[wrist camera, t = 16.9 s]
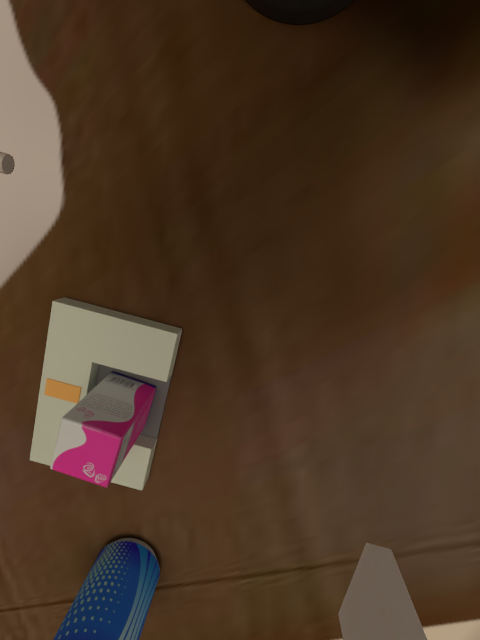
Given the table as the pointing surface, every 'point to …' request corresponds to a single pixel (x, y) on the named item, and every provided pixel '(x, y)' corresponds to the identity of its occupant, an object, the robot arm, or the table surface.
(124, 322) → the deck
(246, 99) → the table surface
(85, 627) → the beer can
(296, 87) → the table surface
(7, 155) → the pipe connector
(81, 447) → the supplement box
